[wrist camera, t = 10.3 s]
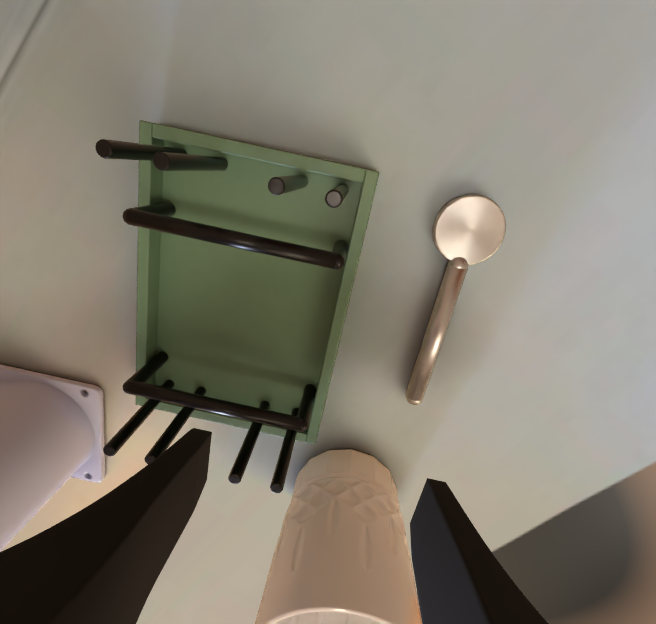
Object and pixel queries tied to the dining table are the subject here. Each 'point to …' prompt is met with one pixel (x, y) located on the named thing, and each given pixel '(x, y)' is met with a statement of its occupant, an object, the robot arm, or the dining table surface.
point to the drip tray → (246, 277)
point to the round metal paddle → (455, 271)
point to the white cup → (341, 548)
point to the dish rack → (161, 221)
